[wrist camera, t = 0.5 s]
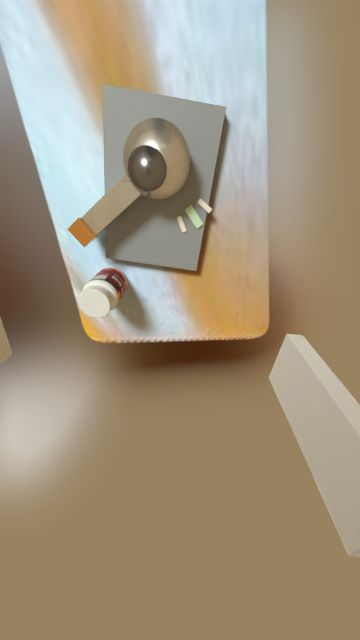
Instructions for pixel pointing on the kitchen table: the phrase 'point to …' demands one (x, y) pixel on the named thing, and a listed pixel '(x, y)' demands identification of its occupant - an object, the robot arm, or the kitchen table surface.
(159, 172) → the silver ladle
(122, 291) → the pill bottle
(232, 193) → the kitchen table surface
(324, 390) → the robot arm
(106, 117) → the stand board
